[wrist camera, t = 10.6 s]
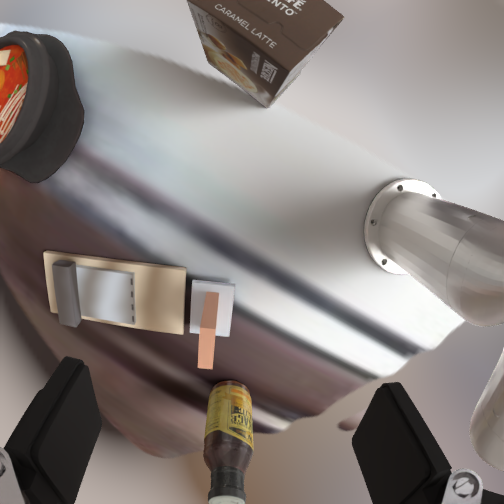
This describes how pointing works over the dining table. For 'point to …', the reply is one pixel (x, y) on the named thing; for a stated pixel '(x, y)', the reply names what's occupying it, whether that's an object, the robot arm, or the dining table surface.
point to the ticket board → (115, 292)
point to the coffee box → (262, 40)
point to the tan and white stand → (210, 316)
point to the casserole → (37, 105)
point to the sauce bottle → (228, 441)
